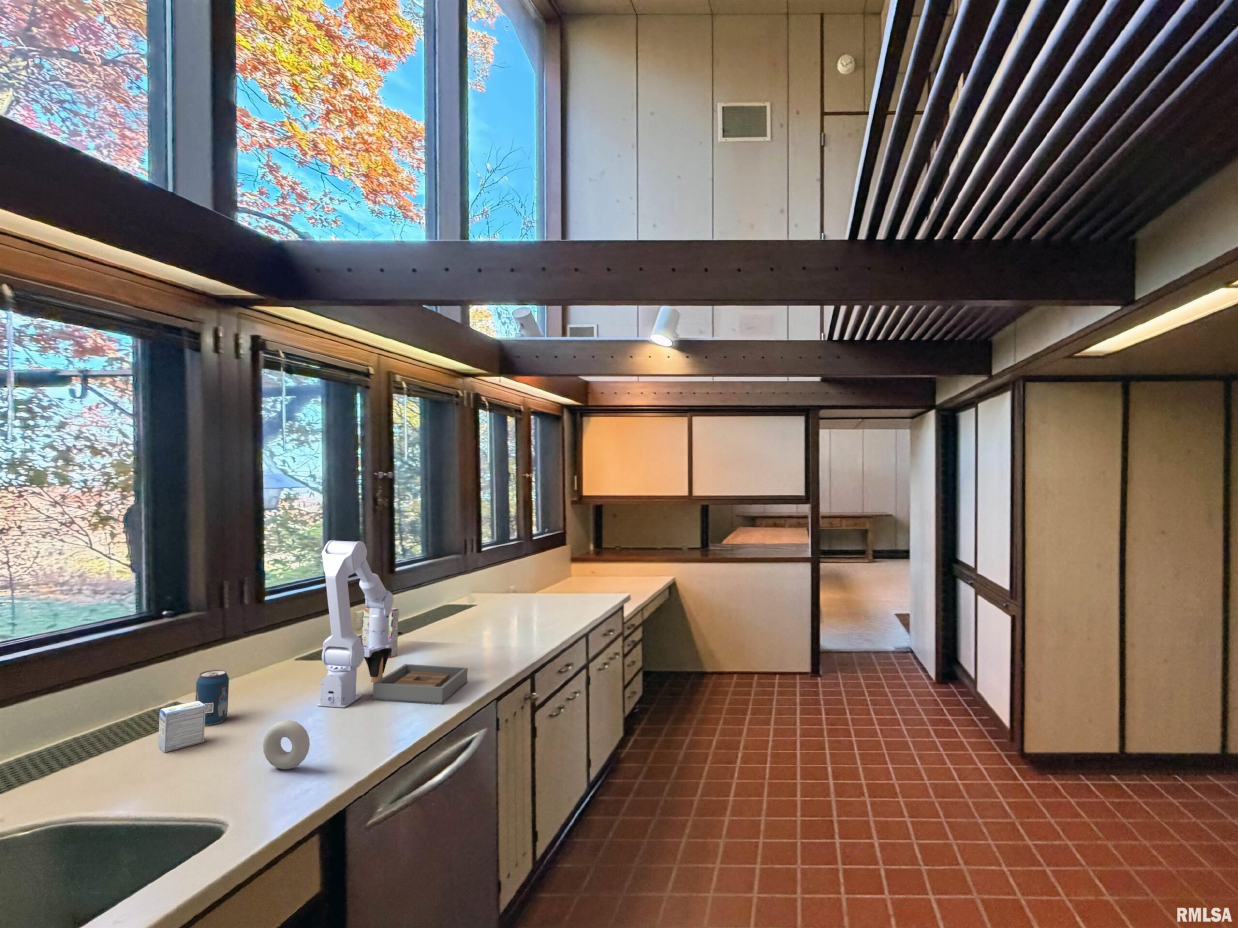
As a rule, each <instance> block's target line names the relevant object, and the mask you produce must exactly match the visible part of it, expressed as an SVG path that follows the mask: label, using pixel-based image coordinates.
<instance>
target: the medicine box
mask: <svg viewBox="0 0 1238 928" xmlns="http://www.w3.org/2000/svg"><path fill="white" fill-rule="evenodd" d="M205 710H206V706H205V705H204V704H203V703H201V702H200V701H192V702H187V703H181V704H176V705H173V706H169V707H164V708H161V709H160V710H159V719H158V720H159V721H158V722H159V723H158V742H157V743H158V745H157V746H158V748H159V749H160V750H161V751H162V752H163V753H167V752H171V751H174V750H175V751H176V750H178V749H183V748H186V747H189V746H193V745H197V744H201V743H204V742H205V729H206V727H205Z"/></svg>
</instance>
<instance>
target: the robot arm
mask: <svg viewBox="0 0 1238 928" xmlns="http://www.w3.org/2000/svg"><path fill="white" fill-rule="evenodd" d="M321 556H322V557H321V558H322V565H323V566H322V567H323V572H324V573H325V585H326V595H327V606H328V612H329V614H328V615H329V625H330V633H331V635H329V636H328V637H327V638H326V639H325V640H324V641H323V642H322V653H321V661H322V664H323V665H324V666H325V669H326V670H328V671H327V674H326V675H325V676H324V677H323V678H322V680H321V683H320V702H318V703H317V704H316V705H317V706H318V707H330V708H331V707H332V708H346V707H348V706H350V705H351V704H353V703H354V702H355V701H357V700H358V699H360V698H362V697H363V695H362V694H357V693H356V692H357V673H358V672H357V671H358V670H357V669H358V668H359V667H360V666H361V664H362V663H363V662H364V661H365V662H366V665H367V668H368V672H369V673H368V674H369V677H370V678H371V677H378V674H379V667H380V663H381V660H382V657H383V674H384V672H385V669H386V665H387V662H388V659H389V658H388V657H389V655H390V653H391V652H392V649H391V648H390V647H392V639H388V634H389V614H391V608H393V605H394V601H395V598H394V595H393V593H392V592H391V591H390V590H387V589H386V588H385V586H384V584H383V582H382V581H381V578H380V576H379V575H378V574H376V573H373V572H372V570H371V568H370V565H369V562H368V560H367V556H368V549H367V547H366V544H365V543H364V541H361V540H360V541H359V540H358V541H353V540H352V541H345V540H334V539H331V540H328V541H327V543H326V544H325V545H324V548H323V550H322V551H321ZM353 574H355V575H357V577H358V578H359V579H360V580H359V587H360V589H361V590H362V592H363V594H364V599H365V608H369V609H370V610H369V636H368V645H367V647H366V648H365V649H364V648H363V646H362V637H360V636H359V635H357V634H356V633H355V632H354V631H353V623H352V616H351V615H352V613H351V605H350V604H351V603H350V593H349V586H348V578H349V576H352V575H353Z"/></svg>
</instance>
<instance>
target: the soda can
mask: <svg viewBox="0 0 1238 928" xmlns="http://www.w3.org/2000/svg"><path fill="white" fill-rule="evenodd" d="M195 683H196V684H195V701H200V702H201V703H203V704H204V705H205V706H206V710H205V725H207V726H212V725H213V724H214V725H218V724H220V723H222V722H223V721H224V720H225V719H226V717H227V715H228V712H229V711H228V709H229V686H230V684H229V683H230V677H229V675H228V673H227V670H225V669H212V670H205V671H202V672H200V673H199V677H198V678H197V680H196V682H195ZM195 701H194V702H195Z"/></svg>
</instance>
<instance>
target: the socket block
mask: <svg viewBox="0 0 1238 928" xmlns="http://www.w3.org/2000/svg"><path fill="white" fill-rule="evenodd" d="M448 680H450V674H445V673H429V672H413V671H412V672H410V673H409V674H407V675H406V676H404V677H403V678H401V679H400V680H398V681H397V682H395V683H394V684H403V685H419V686H434V687H441V686H442V685H443V684H445V683H446V682H447V681H448Z"/></svg>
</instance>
